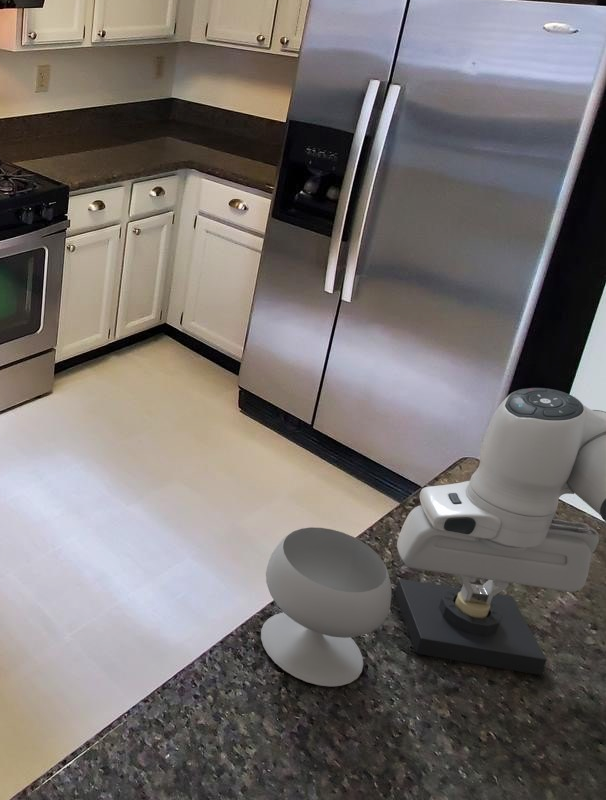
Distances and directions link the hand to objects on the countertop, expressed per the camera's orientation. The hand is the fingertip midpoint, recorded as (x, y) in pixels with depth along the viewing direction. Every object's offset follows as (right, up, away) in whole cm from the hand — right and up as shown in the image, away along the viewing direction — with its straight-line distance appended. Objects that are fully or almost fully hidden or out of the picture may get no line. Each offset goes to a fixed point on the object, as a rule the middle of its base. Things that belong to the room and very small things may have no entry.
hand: (474, 599), depth 103 cm
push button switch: (0, -2, +1) cm, 2 cm away
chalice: (-21, -6, 0) cm, 22 cm away
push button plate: (0, -5, +2) cm, 6 cm away
